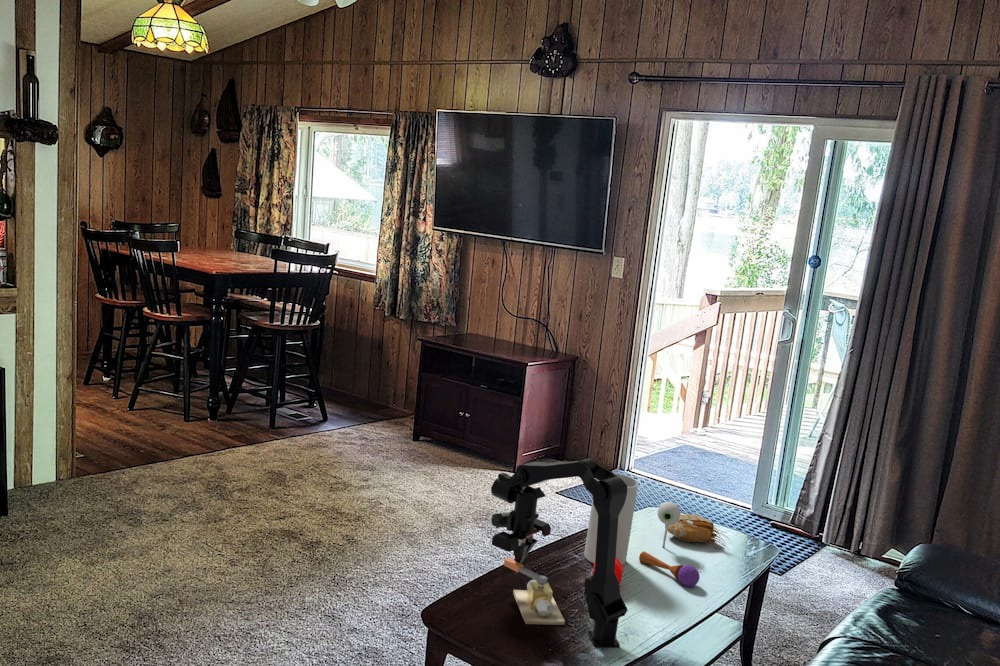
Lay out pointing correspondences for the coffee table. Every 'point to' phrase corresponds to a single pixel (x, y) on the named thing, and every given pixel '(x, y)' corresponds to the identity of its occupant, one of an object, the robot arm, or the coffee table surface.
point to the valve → (540, 598)
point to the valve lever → (524, 570)
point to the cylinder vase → (623, 524)
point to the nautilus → (694, 529)
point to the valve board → (531, 615)
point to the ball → (616, 570)
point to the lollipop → (668, 515)
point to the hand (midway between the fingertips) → (518, 564)
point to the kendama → (674, 569)
